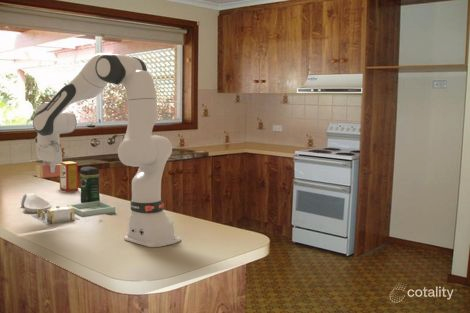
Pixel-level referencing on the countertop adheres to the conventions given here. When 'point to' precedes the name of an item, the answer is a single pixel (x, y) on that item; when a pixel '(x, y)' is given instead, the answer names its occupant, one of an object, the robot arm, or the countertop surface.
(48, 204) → the spoon rest
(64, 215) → the fuse holder
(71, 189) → the baking soda box
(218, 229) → the countertop surface
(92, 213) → the tray
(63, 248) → the countertop surface
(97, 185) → the coffee jar
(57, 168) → the fuse
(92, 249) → the countertop surface
